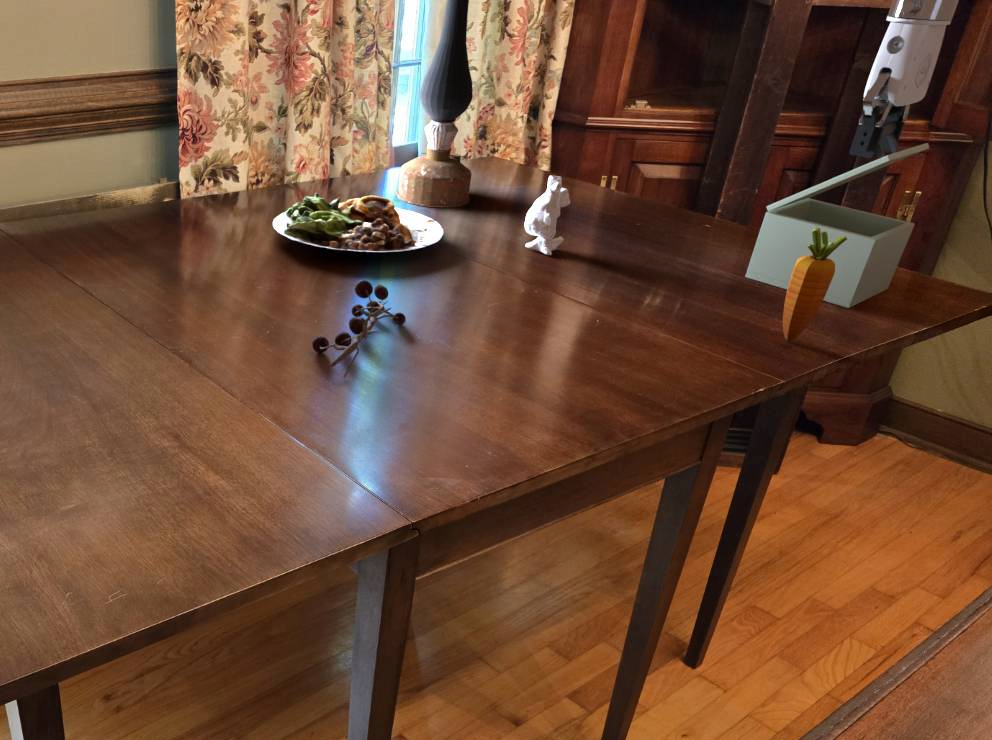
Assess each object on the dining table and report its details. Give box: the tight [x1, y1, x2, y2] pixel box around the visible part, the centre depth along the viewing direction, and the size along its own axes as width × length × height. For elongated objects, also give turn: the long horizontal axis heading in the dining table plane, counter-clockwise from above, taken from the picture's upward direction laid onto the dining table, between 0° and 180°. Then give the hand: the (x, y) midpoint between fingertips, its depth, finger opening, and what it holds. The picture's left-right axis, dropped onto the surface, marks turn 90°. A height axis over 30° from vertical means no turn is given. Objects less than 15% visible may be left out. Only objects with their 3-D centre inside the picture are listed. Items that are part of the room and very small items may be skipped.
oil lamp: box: [396, 0, 474, 209], centre depth 169 cm, size 14×15×40 cm
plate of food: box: [272, 192, 444, 253], centre depth 157 cm, size 28×28×6 cm
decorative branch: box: [311, 279, 407, 379], centre depth 122 cm, size 11×9×30 cm
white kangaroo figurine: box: [524, 174, 571, 256], centre depth 154 cm, size 8×7×12 cm
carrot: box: [782, 228, 847, 343], centre depth 124 cm, size 5×5×15 cm
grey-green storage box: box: [744, 197, 916, 309], centre depth 146 cm, size 16×14×10 cm
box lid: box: [765, 121, 930, 212], centre depth 140 cm, size 17×14×6 cm
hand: (871, 152), depth 137 cm, fingers closed on box lid, 6 cm apart
